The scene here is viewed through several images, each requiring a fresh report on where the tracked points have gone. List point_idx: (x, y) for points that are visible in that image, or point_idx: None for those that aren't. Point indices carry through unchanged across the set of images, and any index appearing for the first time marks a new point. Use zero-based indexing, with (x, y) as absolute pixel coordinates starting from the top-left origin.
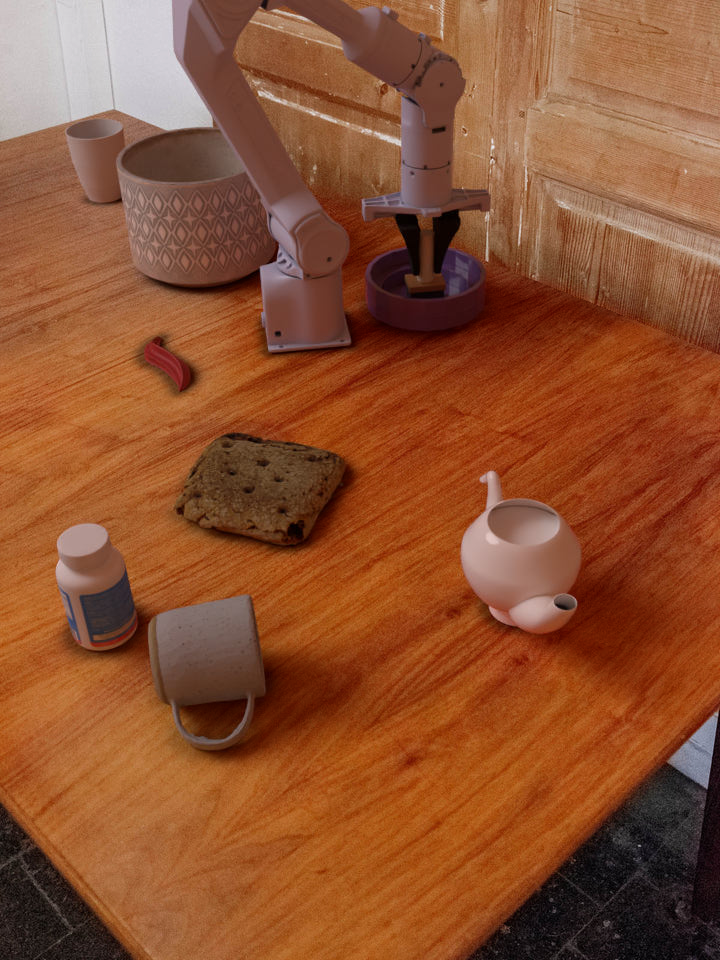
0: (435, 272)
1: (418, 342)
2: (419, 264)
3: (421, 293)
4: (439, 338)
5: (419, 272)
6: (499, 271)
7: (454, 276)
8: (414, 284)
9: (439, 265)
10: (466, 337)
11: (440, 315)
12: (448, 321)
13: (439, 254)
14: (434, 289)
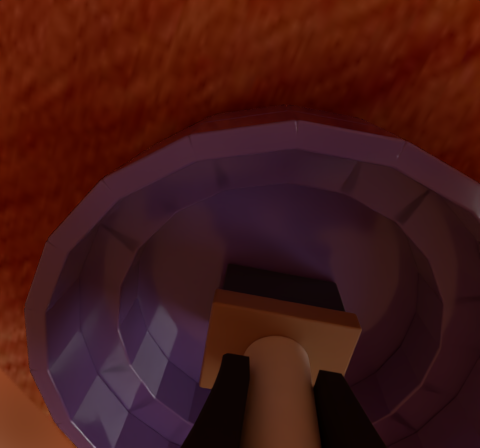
0: (248, 361)
1: (405, 82)
2: (337, 413)
3: (308, 304)
4: (319, 82)
5: (323, 379)
6: (15, 375)
7: (148, 370)
8: (333, 343)
9: (231, 381)
10: (222, 51)
11: (317, 115)
12: (278, 107)
13: (229, 438)
14: (262, 299)
